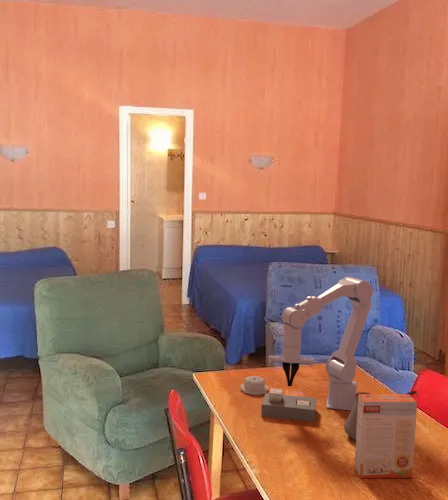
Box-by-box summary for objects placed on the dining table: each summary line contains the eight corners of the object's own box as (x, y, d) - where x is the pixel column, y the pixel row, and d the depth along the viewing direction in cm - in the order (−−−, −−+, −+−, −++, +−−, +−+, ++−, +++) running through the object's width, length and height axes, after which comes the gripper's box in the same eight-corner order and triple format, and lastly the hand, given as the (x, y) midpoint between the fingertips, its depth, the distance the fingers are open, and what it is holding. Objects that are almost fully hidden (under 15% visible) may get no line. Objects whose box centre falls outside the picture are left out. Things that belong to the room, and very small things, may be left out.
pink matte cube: (309, 411, 187) (309, 401, 187) (308, 416, 183) (309, 405, 183) (297, 410, 188) (297, 399, 188) (296, 415, 184) (296, 404, 184)
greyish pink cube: (282, 400, 189) (282, 389, 188) (281, 404, 185) (281, 393, 184) (270, 399, 189) (270, 388, 189) (268, 403, 185) (269, 392, 185)
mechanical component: (240, 395, 201) (268, 396, 201) (240, 383, 201) (269, 384, 201) (240, 385, 211) (267, 386, 211) (240, 373, 211) (267, 374, 210)
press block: (315, 409, 190) (316, 398, 189) (314, 422, 180) (315, 410, 180) (265, 404, 193) (265, 393, 193) (261, 416, 183) (261, 404, 183)
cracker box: (404, 467, 153) (410, 393, 150) (412, 479, 147) (418, 402, 144) (353, 467, 153) (357, 392, 150) (359, 478, 147) (364, 401, 144)
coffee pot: (347, 445, 165) (350, 395, 163) (340, 428, 176) (342, 381, 174) (421, 448, 165) (425, 398, 163) (409, 430, 176) (412, 384, 174)
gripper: (314, 342, 187) (311, 382, 188) (269, 339, 188) (267, 379, 190) (314, 348, 180) (312, 390, 181) (269, 345, 181) (267, 386, 183)
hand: (289, 385), depth 185 cm, fingers closed
